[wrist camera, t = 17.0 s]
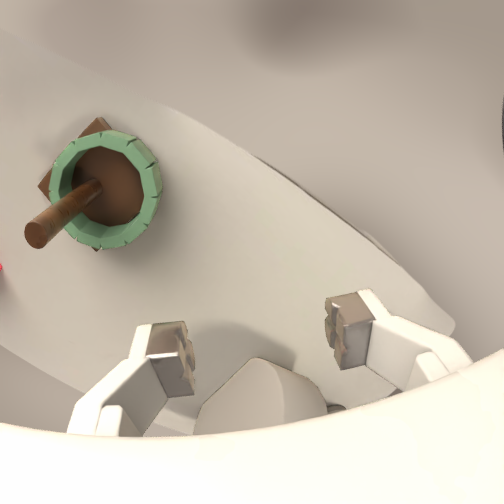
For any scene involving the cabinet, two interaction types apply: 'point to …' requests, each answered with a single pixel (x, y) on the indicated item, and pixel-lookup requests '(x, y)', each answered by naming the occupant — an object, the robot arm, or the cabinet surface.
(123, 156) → the stand
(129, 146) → the ring
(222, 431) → the alarm clock
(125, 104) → the cabinet surface
